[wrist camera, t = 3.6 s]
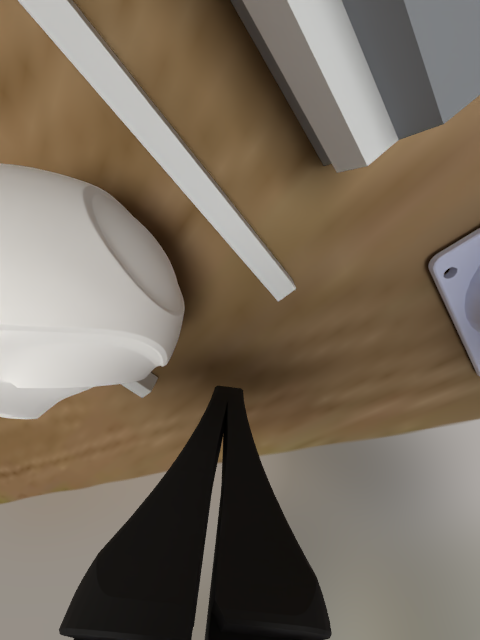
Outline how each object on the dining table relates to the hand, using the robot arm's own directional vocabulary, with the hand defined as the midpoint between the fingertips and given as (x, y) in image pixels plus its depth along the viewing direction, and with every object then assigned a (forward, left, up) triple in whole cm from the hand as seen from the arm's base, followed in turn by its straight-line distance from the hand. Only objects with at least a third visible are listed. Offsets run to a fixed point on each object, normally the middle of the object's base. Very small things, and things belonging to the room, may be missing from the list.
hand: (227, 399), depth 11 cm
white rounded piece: (+8, 0, -3) cm, 9 cm away
